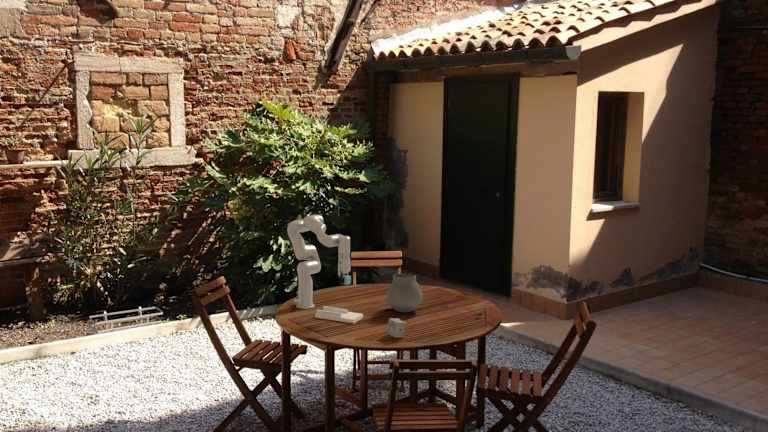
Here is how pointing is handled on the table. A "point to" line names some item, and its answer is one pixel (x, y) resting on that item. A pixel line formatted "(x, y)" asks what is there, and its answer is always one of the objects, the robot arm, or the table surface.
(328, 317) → the deck
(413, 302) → the ceramic pot
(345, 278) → the block
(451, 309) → the table surface
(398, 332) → the incense holder
